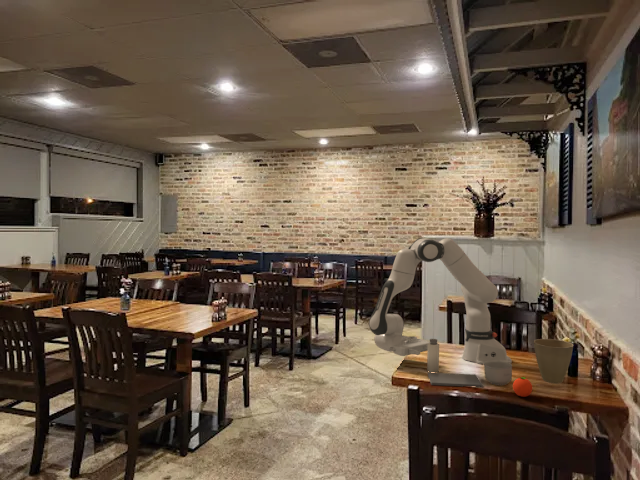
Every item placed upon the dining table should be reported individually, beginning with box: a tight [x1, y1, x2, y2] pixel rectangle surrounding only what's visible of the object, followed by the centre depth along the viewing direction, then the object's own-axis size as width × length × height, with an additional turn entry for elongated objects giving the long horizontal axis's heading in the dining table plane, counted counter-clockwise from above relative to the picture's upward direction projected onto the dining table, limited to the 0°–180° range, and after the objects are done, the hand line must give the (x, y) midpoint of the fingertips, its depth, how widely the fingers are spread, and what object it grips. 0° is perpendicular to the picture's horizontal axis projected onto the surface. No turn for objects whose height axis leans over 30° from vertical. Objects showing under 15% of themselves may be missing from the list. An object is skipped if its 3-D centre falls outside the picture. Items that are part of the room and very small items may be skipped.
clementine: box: [512, 376, 534, 398], centre depth 185 cm, size 8×7×7 cm
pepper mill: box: [426, 338, 440, 373], centre depth 216 cm, size 5×5×14 cm
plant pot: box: [533, 338, 574, 384], centre depth 204 cm, size 15×15×16 cm
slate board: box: [427, 371, 484, 388], centre depth 203 cm, size 20×14×1 cm
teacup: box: [483, 360, 513, 386], centre depth 202 cm, size 14×11×8 cm
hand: (426, 351), depth 219 cm, fingers open, 8 cm apart
